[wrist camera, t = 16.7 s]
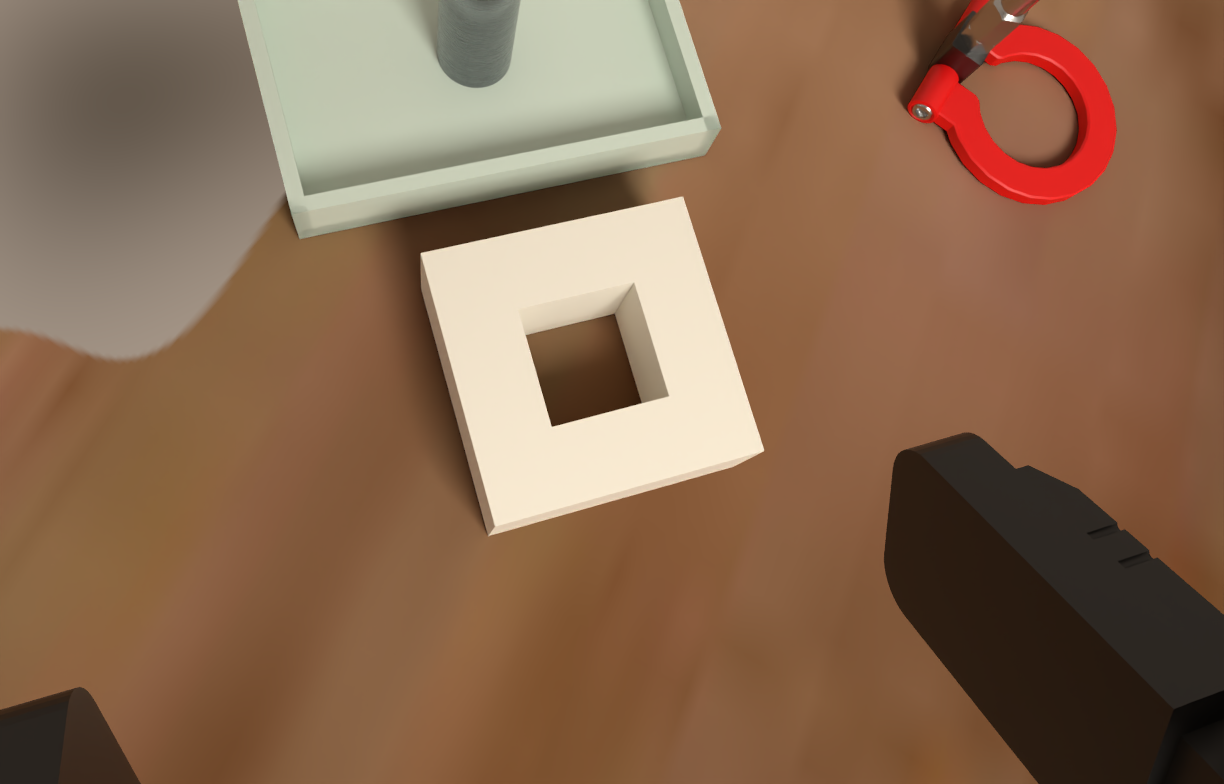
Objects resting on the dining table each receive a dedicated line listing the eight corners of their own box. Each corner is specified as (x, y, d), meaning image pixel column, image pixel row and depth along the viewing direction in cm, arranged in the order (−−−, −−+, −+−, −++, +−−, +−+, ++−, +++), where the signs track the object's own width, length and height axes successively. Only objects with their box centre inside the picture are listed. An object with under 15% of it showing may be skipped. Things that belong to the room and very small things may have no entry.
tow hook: (1127, 106, 49) (970, -9, 48) (1381, -58, 36) (1174, -216, 36) (1055, 243, 46) (889, 125, 46) (1299, 118, 34) (1077, -47, 33)
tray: (299, 239, 40) (291, 214, 37) (230, -34, 42) (218, -74, 39) (705, 155, 44) (721, 128, 41) (624, -91, 45) (635, -131, 43)
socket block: (488, 536, 39) (495, 526, 35) (420, 288, 40) (420, 253, 36) (732, 466, 41) (764, 450, 37) (659, 235, 42) (682, 196, 39)
